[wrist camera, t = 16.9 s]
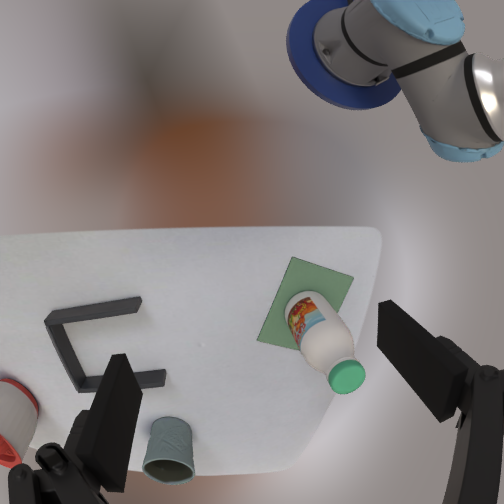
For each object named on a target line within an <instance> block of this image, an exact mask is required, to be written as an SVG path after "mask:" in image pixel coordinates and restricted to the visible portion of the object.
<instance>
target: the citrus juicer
mask: <svg viewBox="0 0 504 504" xmlns="http://www.w3.org/2000/svg"><path fill="white" fill-rule="evenodd" d="M37 419H38V405H37V403H36V401H35V399H34V397H33V396H32V394H31V393H30V392H29V391H28V390H27V389H26V388H25V387H23V386H22V385H21V384H19V383H18V382H16V381H14V380H11V379H1V380H0V464H1V465H3V466H5V467H8V468H13V467H14V466H15V465H17V464H22V460H23V458H24V455H25V453H26V451H27V449H28V447H29V445H30V442H31V440H32V438H33V436H34V433H35V430H36V425H37Z"/></svg>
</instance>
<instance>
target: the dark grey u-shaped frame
mask: <svg viewBox="0 0 504 504" xmlns="http://www.w3.org/2000/svg"><path fill="white" fill-rule="evenodd" d="M141 303H142V300H141V297H134V298H128V299H122V300H116V301H110V302H104V303H98V304H92V305H86V306H80V307H73V308H67V309H61V310H54V311H52V312H51V313H50V314H49V315H48V316H47V318H46V319H45V320H44V323H45V325H46V329H47V331H48V334H49V336H50V338H51V340H52V343H53V345H54V347H55V349H56V351H57V353H58V356H59V358H60V360H61V362H62V364H63V366H64V368H65V370H66V372H67V374H68V376H69V378H70V379H71V381H72V383H73V385H74V387H75V389H76V391H78V393H91V392H97V390H98V388H99V385H100V383H101V380H102V378H103V376H92V377H86V376H85V374H84V372H83V370H82V368H81V366H80V363H79V361H78V359H77V357H76V355H75V353H74V351H73V348H72V346H71V344H70V342H69V339H68V337H67V335H66V332H65V330H64V328H63V325H62V324H63V323H70V322H78V321H85V320H92V319H98V318H105V317H112V316H118V315H125V314H131V313H137V312H138V310H139V307H140V305H141ZM134 375H135V377H136V380H137V382H138V384H139V386H140V388H141V389H145V388H155V387H163V386H164V385H165V379H166V371H165V369H162V370H154V371H145V372H137V373H134Z"/></svg>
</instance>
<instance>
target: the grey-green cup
mask: <svg viewBox="0 0 504 504" xmlns="http://www.w3.org/2000/svg"><path fill="white" fill-rule="evenodd" d="M150 435H151V437H150V439H149V442H148V446H147V452H146V455H145V458H144V462H143V465H142V470H143V472H144V473H145V475H146V476H148V477H149V478H151V479H152V480H155V481H157V482H160V483H164V484H171V485H174V484H175V485H177V484H184V483H187V482H189V481H191V480H192V479H193V478H194V476H195V469H194V461H193V459H192V458H193V447H192V432H191V429H190V427H189V425H188V424H187V423H186V422H184V421H183V420H180V419H178V418H174V417H163V418H160V419H158V420H156V421H155V422H154V424H153V425H152V429H151V433H150Z"/></svg>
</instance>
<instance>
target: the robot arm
mask: <svg viewBox="0 0 504 504" xmlns="http://www.w3.org/2000/svg"><path fill="white" fill-rule="evenodd" d="M347 1H348V5H349V6H347V7H343V8H338V9H334V10H331V11H329V12H327V13H326V14H325V15H323V16H322V18H321V19H320V20H319V21H318V22H317V24H316V25H315V27H314V30H313V33H312V46H313V50H314V53H315V55H316V58H317V59H318V61H319V63H320V64H321V66H322V67H323V68H324V69H325V70H326V71H327V72H328V73H329V74H330V75H331V76H332V77H334V78H335V79H337V80H338V81H340V82H342V83H344V84H347V85H350V86H353V87H370V86H373V85H376V86H377V85H378V84H380V83H382V82H384V81H386V80H388V79H389V76H390V74H391V73H393V75H394V77H395V78H396V80H397V82H398V84H399V86H400V87H401V89H402V91H403V93H404V95H405V97H406V98H407V100H408V102H409V104H410V106H411V108H412V110H413V112H414V114H415V116H416V118H417V120H418V122H419V124H420V129H421V132H422V133H423V134H424V136H425V137H426V138H427V140H428V142H429V144H430V147H431V148H432V150H433V151H434V152H435V153H436V154H437V155H438V156H439V157H441V158H443V159H445V160H449V161H453V162H474V161H479V160H481V158H489V157H492V156H494V155H495V154H497V153H498V152H499V151H500V150H501V149H502V147H503V145H504V59H499V60H493V59H491V58H490V57H488V56H487V55H485V54H483V53H481V52H479V53H474V54H471V55H468V53H467V51H466V49H465V47H464V45H463V44H462V42H461V40H460V39H461V37H462V36H463V34H464V31H465V24H464V23H463V22H462V21H463V20H464V18H463V14H462V12H461V10H460V8H459V6H458V5H457V3H456V2H455V0H354V1H353V0H347ZM378 304H379V305H378V335H377V347H378V348H379V349H380V350H381V351H382V353H383V354H384V355H385V356H386V357H387V359H388V360H389V361H390V362H391V363H392V364H393V366H394V367H395V368H396V369H397V371H398V372H399V373H400V374H401V375H402V377H403V378H404V379H405V380H406V382H407V383H408V384H409V385H410V386H411V388H412V389H413V390H414V391H415V393H416V394H417V395H418V396H419V397H420V399H421V400H422V401H423V402H424V404H425V405H426V406H427V407H428V409H429V410H430V411H431V412H432V414H433V415H434V416H435V417H436V419H437V420H438V421H439V422H440V423H441V422H443V421H445V420H447V419H449V418H451V417H453V416H454V414H455V411H456V408H457V407H458V408H459V409H460V410H461V411H462V412H461V415H460V417H459V420H458V422H457V425H456V428H458V433H457V440H456V445H455V451H454V456H453V462H452V467H451V472H450V476H449V480H448V484H447V489H446V492H445V496H444V500H443V503H442V504H497V498H498V491H499V483H500V475H501V464H502V463H501V462H502V448H503V435H504V370H498V369H497V368H495V367H493V366H489V365H483V366H480V365H479V364H478V363H476V361H474V360H473V359H472V358H471V357H470V356H469V355H468V354H466V353H465V352H464V351H462V349H461V348H459V347H458V346H457V345H456V344H455V343H454V342H453V341H451V340H450V339H448V338H445V337H443V336H439V337H437V338H435V337H433V336H432V335H431V334H430V333H429V332H428V331H427V330H426V329H425V328H423V327H422V326H421V325H420V324H419V323H418V322H416V321H415V320H414V319H413V318H412V317H410V315H408V314H407V313H406V312H405V311H404V310H402V309H401V308H400V307H399V306H398V305H397V304H395V303H394V302H393V301H392V300H387V301H384V302H381V303H378ZM142 395H143V393H142V391H141V388H140V386H139V384H138V382H137V380H136V377H135V375H134V373H133V370H132V368H131V366H130V363H129V361H128V359H127V356H126V354H125V353H124V354H116V355H112V356H111V359H110V361H109V363H108V366H107V368H106V370H105V373H104V375H103V378H102V380H101V383H100V385H99V388H98V390H97V393H96V395H95V398H94V400H93V403H92V405H91V408H90V410H82V411H81V412H80V413H79V415H78V416H77V417H76V418H75V421H74V423H73V427H72V428H71V431H70V434H69V436H68V438H67V441H66V444H65V446H64V449H63V448H62V447H61V446H60V445H59V444H57V443H47V444H44V445H43V446H41V447H40V448H39V449H38V451H37V452H36V455H35V459H36V462H37V463H38V464H39V465H40V467H41V468H42V469H40V470H34V471H33V470H32V469H31V468H30V467H29V466H28V465H26V464H24V463H22V464H17V465H15V466H14V467H13V468H12V469H11V470H10V472H9V475H8V488H9V503H10V504H109V503H108V502H107V500H106V499H105V498H104V496H103V495H102V494H101V493H100V487H101V485H102V486H103V487H104V488H105V490H106V491H107V492H121V493H123V492H124V488H125V482H126V476H127V470H128V465H129V459H130V454H131V448H132V443H133V438H134V433H135V428H136V423H137V418H138V414H139V409H140V404H141V400H142Z"/></svg>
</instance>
